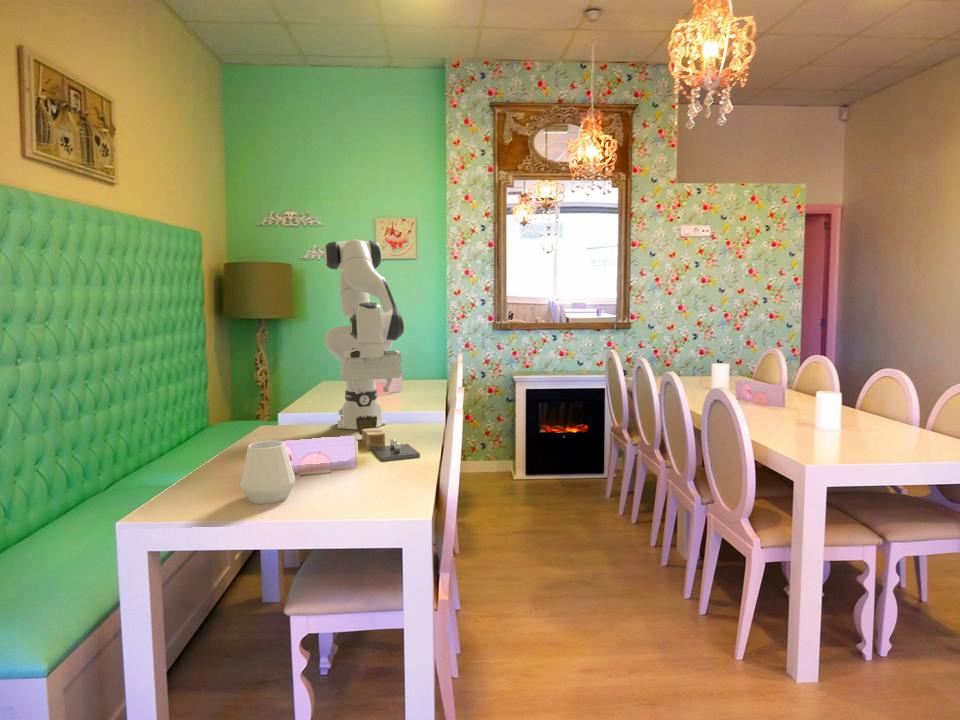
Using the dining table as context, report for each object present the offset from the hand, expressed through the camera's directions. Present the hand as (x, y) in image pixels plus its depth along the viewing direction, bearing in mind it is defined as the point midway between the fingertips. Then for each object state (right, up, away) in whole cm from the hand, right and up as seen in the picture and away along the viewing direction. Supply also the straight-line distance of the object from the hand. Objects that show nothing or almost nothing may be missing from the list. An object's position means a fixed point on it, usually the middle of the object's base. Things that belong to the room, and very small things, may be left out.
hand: (372, 392), depth 218 cm
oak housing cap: (0, -18, +2) cm, 18 cm away
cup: (-4, -17, +11) cm, 21 cm away
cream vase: (-18, -24, -52) cm, 60 cm away
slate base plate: (+9, -19, -9) cm, 23 cm away
